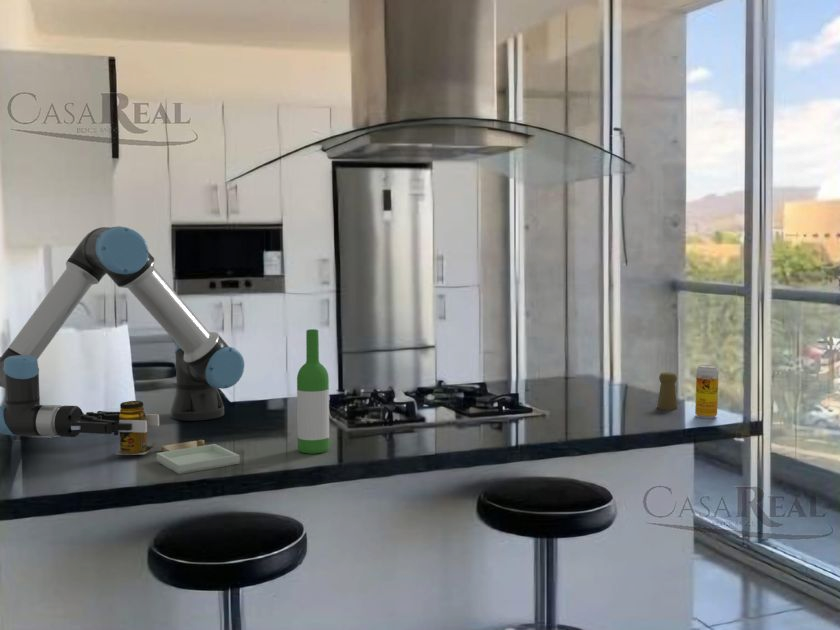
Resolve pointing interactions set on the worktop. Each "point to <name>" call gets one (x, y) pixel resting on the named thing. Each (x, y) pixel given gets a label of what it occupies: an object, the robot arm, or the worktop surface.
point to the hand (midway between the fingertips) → (152, 423)
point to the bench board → (182, 445)
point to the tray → (197, 458)
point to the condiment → (133, 440)
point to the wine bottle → (312, 400)
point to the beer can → (706, 391)
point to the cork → (667, 391)
